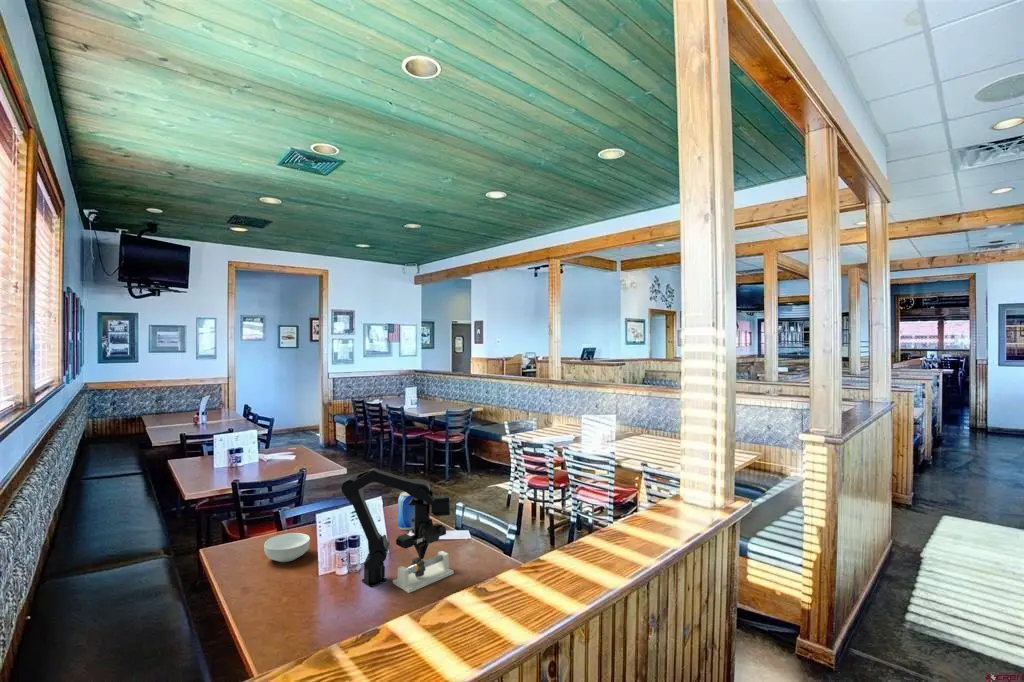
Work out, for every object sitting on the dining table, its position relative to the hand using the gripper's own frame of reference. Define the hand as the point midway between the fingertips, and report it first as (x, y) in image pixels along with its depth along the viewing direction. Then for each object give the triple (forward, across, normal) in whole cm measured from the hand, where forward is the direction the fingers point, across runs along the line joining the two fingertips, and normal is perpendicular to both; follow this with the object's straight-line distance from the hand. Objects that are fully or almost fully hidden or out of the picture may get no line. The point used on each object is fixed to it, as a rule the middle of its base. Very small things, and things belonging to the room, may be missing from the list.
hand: (421, 558), depth 181 cm
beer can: (+8, +25, +46) cm, 53 cm away
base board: (+8, +1, 0) cm, 8 cm away
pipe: (+4, +1, 0) cm, 4 cm away
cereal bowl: (+8, -27, +53) cm, 60 cm away
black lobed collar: (+6, -2, 0) cm, 6 cm away
